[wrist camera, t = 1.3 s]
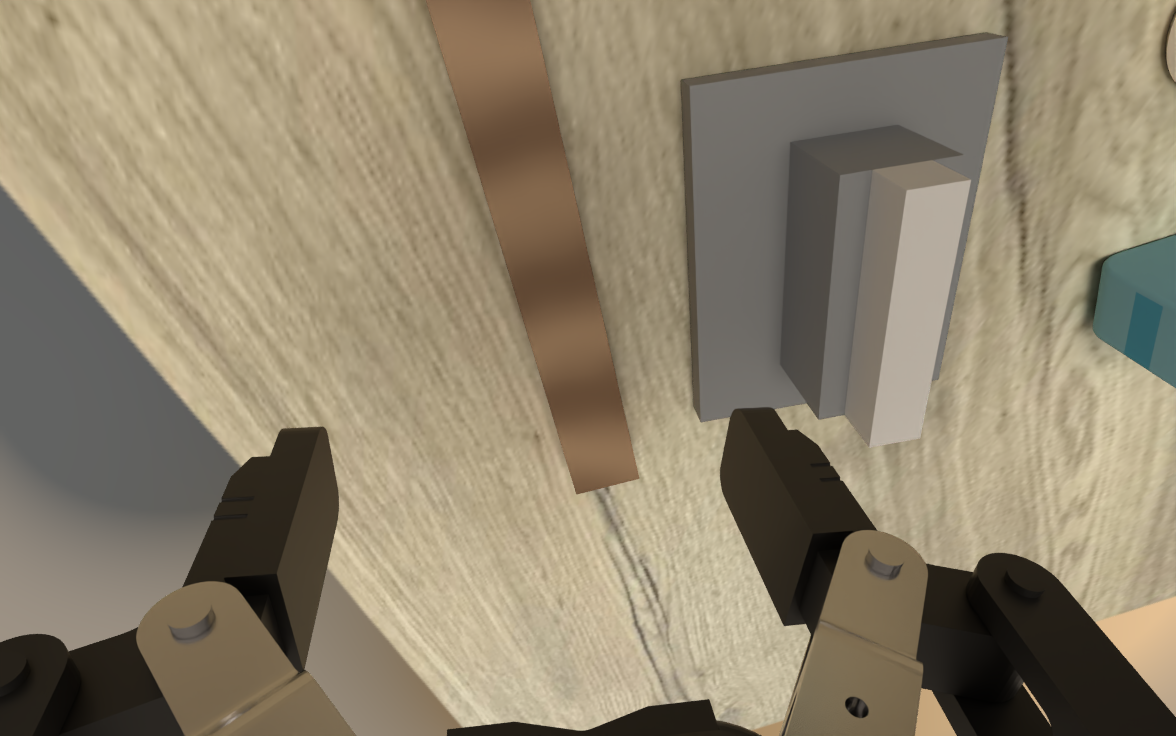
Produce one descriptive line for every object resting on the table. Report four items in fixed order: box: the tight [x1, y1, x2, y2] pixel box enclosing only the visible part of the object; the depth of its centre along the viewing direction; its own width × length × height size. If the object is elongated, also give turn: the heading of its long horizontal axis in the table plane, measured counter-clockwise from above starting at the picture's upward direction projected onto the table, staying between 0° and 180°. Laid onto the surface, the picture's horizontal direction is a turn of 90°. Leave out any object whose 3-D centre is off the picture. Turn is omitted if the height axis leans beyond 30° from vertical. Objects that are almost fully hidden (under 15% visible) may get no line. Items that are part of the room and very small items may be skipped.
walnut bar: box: [426, 0, 639, 494], centre depth 32 cm, size 26×4×4 cm, turn 12°
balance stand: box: [681, 33, 1008, 448], centre depth 31 cm, size 14×18×9 cm
